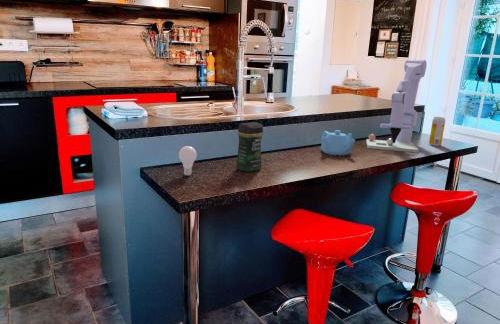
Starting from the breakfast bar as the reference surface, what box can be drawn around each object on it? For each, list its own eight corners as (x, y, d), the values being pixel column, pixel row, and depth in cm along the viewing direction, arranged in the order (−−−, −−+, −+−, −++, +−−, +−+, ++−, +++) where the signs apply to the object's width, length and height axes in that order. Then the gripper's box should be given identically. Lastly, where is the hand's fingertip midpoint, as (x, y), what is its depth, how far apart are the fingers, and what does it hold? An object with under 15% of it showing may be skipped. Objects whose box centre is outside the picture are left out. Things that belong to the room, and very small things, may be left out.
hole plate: (366, 141, 210) (366, 139, 210) (413, 145, 205) (413, 143, 204) (367, 148, 195) (367, 145, 195) (418, 152, 190) (418, 149, 189)
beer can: (438, 144, 211) (443, 116, 207) (442, 146, 205) (447, 118, 201) (427, 143, 212) (431, 116, 208) (431, 146, 206) (435, 118, 202)
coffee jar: (246, 173, 146) (248, 125, 141) (233, 169, 151) (234, 122, 146) (264, 169, 152) (267, 122, 147) (251, 165, 158) (252, 119, 153)
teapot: (351, 150, 190) (354, 128, 187) (353, 157, 175) (356, 134, 173) (320, 148, 192) (322, 126, 190) (319, 155, 178) (321, 132, 175)
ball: (368, 139, 209) (368, 133, 208) (374, 140, 208) (375, 133, 207) (368, 140, 206) (369, 134, 205) (375, 141, 205) (375, 134, 204)
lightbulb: (179, 172, 144) (179, 144, 141) (197, 173, 144) (197, 144, 141) (178, 178, 138) (177, 148, 135) (196, 178, 138) (196, 148, 135)
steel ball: (392, 137, 198) (393, 144, 199) (385, 138, 199) (386, 145, 199) (394, 138, 195) (395, 144, 195) (387, 138, 195) (388, 145, 196)
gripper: (382, 115, 191) (379, 142, 194) (413, 118, 188) (409, 145, 191) (381, 114, 198) (377, 140, 201) (411, 116, 194) (407, 143, 198)
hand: (393, 142), depth 196 cm, fingers closed, pressing on steel ball
